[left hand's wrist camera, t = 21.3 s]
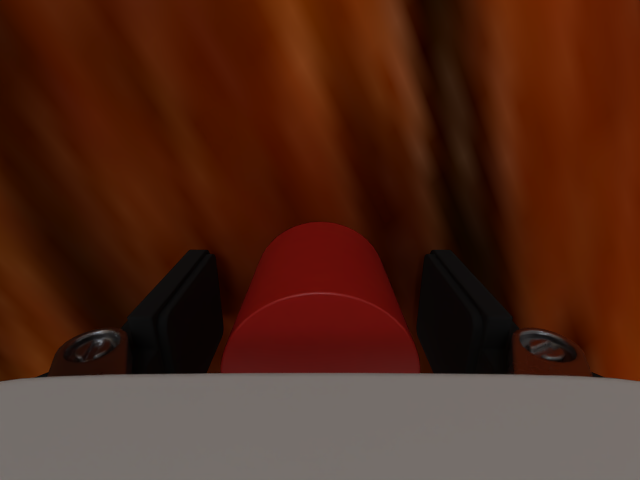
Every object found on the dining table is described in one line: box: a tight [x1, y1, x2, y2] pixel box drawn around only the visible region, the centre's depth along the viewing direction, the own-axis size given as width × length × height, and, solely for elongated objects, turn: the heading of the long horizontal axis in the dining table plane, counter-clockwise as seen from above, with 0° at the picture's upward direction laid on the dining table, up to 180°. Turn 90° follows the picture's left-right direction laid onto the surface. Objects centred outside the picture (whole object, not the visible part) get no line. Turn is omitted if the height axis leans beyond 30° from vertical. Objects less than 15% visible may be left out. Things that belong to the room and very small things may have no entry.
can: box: [220, 222, 420, 373], centre depth 10 cm, size 4×4×5 cm
